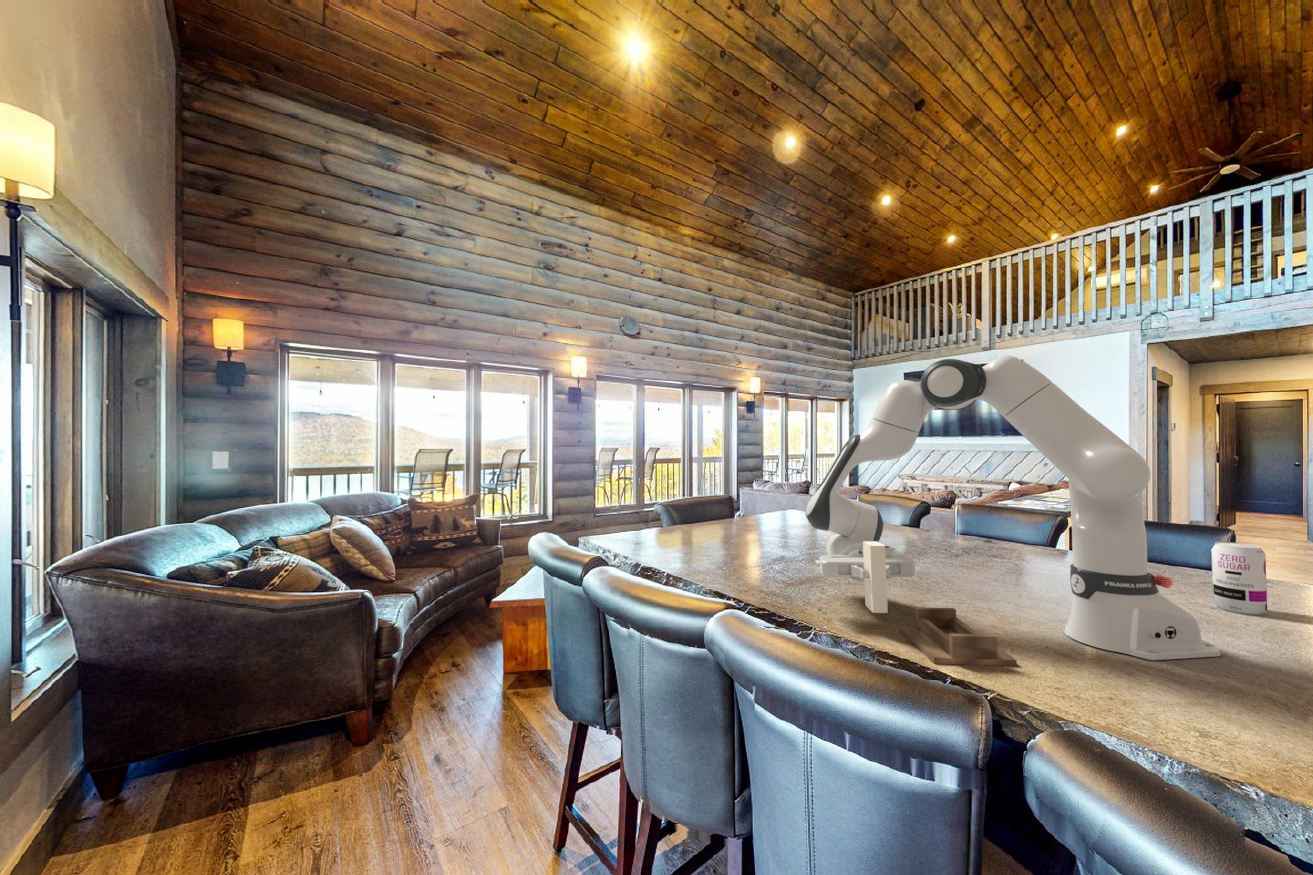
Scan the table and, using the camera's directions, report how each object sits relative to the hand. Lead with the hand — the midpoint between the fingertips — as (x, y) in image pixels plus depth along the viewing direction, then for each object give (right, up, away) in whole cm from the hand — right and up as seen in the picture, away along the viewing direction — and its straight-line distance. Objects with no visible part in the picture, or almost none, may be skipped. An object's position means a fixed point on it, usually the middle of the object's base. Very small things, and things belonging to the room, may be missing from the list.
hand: (876, 574), depth 107 cm
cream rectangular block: (0, -8, +1) cm, 8 cm away
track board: (+11, -12, -9) cm, 18 cm away
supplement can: (+88, -11, +9) cm, 89 cm away
